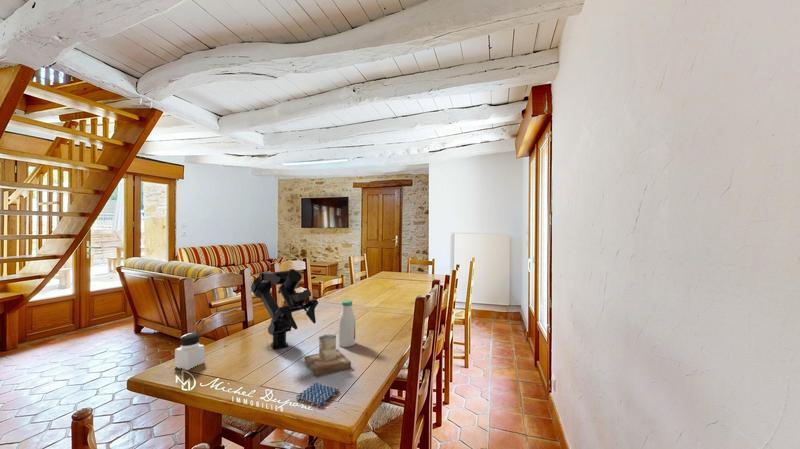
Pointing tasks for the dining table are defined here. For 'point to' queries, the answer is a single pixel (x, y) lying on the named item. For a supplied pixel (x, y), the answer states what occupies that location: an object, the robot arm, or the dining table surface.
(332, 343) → the beech block
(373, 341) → the dining table surface
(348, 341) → the milk bottle
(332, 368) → the base
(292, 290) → the robot arm
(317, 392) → the woven mat
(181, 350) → the medicine bottle
